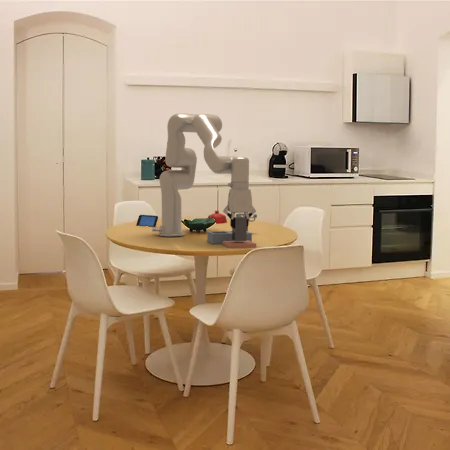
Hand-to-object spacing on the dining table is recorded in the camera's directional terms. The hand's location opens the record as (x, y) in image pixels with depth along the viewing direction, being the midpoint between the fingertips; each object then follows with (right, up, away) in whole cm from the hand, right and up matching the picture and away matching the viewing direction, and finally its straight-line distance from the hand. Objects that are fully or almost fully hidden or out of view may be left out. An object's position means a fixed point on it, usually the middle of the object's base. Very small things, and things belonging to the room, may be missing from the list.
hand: (239, 227), depth 281 cm
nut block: (0, -5, +1) cm, 5 cm away
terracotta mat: (0, -8, +1) cm, 8 cm away
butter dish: (-11, +1, +85) cm, 85 cm away
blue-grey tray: (-4, -7, +13) cm, 15 cm away
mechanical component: (+4, -3, +46) cm, 46 cm away
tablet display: (-49, -1, +63) cm, 80 cm away
